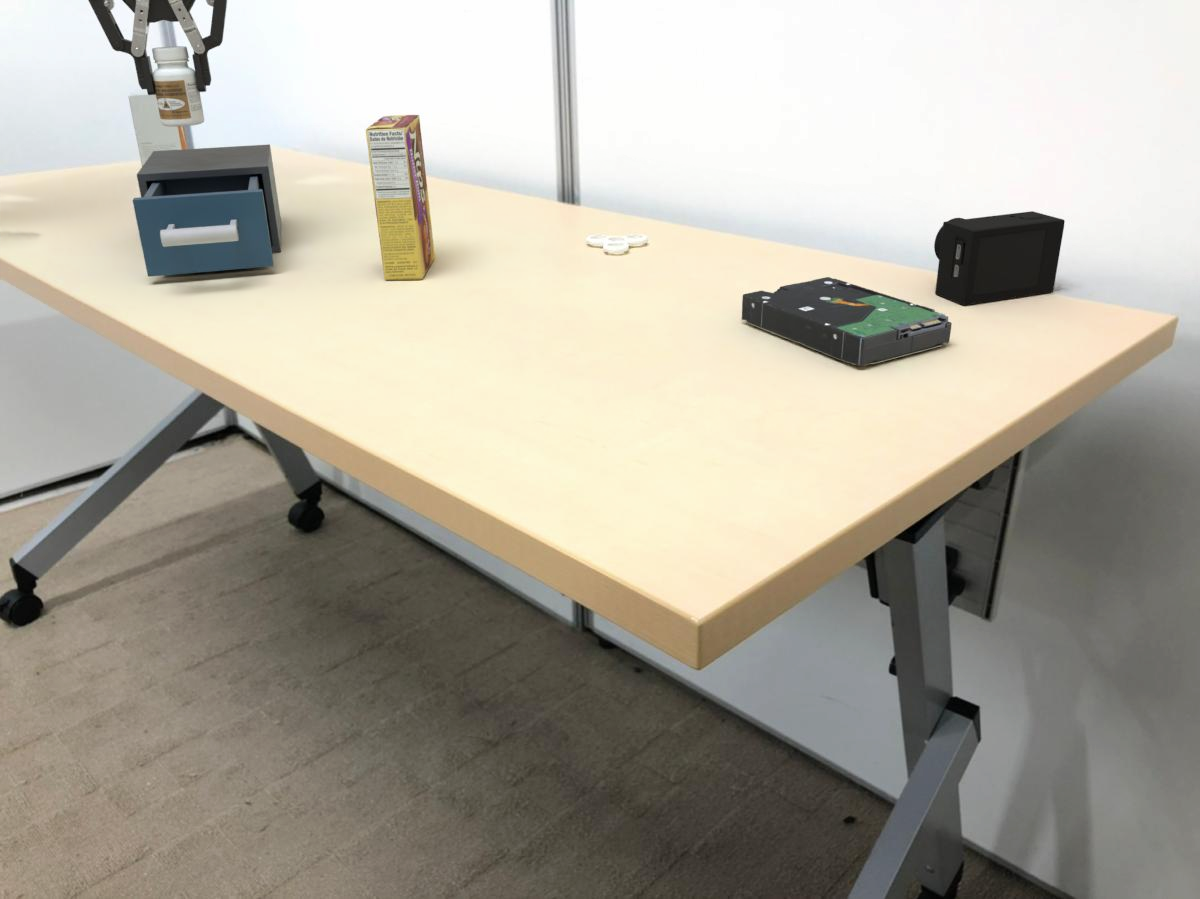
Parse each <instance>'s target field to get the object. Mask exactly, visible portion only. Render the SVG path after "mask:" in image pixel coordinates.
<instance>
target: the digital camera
mask: <svg viewBox="0 0 1200 899" xmlns="http://www.w3.org/2000/svg"><path fill="white" fill-rule="evenodd" d="M1065 222H1066V220H1065V219H1063V218H1060V217H1055V216H1051V215H1048V214H1045V213H1040V212H1036V211H1033V210H1031V211H1023V212H1015V213H1014V212H1013V213H1007V214H999V215H998V214H997V215H989V216H980V217H972V218H964V217H953V218H951V219H949V220H947V221H943V223H942V226H941V227H940V228H939V230H938V231H937V233H936V236H935V239H934V244H933V245H934V246H933V248H934V254H935V256H936V258H937V259H938V266H937V275H936V284H935V295H938V296H939V297H941V298H944V299H947V300H949V301H951V302H954V303H956V304H959V305H961V306H963V307H964V306H970V305H977V304H983V303H990V302H996V301H1004V300H1009V299H1017V298H1023V297H1029V296H1036V295H1043V294H1049V293H1054V291H1055V283H1056V277H1057V271H1058V266H1059V260H1060V254H1061V253H1060V252H1061V247H1062V241H1063V236H1064V235H1063V234H1064V229H1065Z"/></svg>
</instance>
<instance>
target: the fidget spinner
mask: <svg viewBox="0 0 1200 899" xmlns="http://www.w3.org/2000/svg"><path fill="white" fill-rule="evenodd" d="M648 241H649V238H648V236H647V235H645V234H640V233H639V234H638V233H637V234H636V233H634V234H627V235H621V236H614V235H613V236H612V235H606V234H592V235H589V236H587V237H586V238H585V242H586V244H588V245H591V246H600V247H602V250H603V251H604V252H605V253H609V254H621V253H626V252H628V251H629V250H630V246H631V247H632V246H640V245H645V244H647V243H648Z"/></svg>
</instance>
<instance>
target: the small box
mask: <svg viewBox="0 0 1200 899" xmlns="http://www.w3.org/2000/svg"><path fill="white" fill-rule="evenodd" d="M128 101H129V107H130V112H131V117H132V118H131V119H132V124H133V128H134V133H135V138H136V142H137V147H138V154H139V159H140V162H141V163H140V165H141V167H142V166H143V165H144V164H145V162H146V161H147V160H148V158H149V157H150V155H151V154H152V153H153V151H166V150H183V149H189V148H188V142H187V135H186V129H185V126H164V125H163V124H162V123H161V118H160V114H159V108H158V103H157V98H156V94H155V95H148V93H147V89H137V90H135V91H134V92H133V91H132V92H131V93H130V94H129V95H128Z"/></svg>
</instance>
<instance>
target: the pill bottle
mask: <svg viewBox="0 0 1200 899" xmlns="http://www.w3.org/2000/svg"><path fill="white" fill-rule="evenodd" d="M151 52H152V57H153V61H154V64H156V65H157V68H156V69H155V70H154V71H153V74H152V77H153V83H154V88H155V93H156V98H157V103H158V108H159V114H160V118H161V123H162V124H163V125H164V126H184V127H192V126H196V125H201V124H203V123H205V114H204V110H203V102H202V98H201V97H202V96H201V92H199V90H198V85H197V79H196V74H195V68H192V67H190V66H189V64H188V62H190V59H189V58H190V55H189V51H188V47H187V46H186V45H185V46H184V45H179V46H176V45H175V46H158V47H153V48H152V49H151Z"/></svg>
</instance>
